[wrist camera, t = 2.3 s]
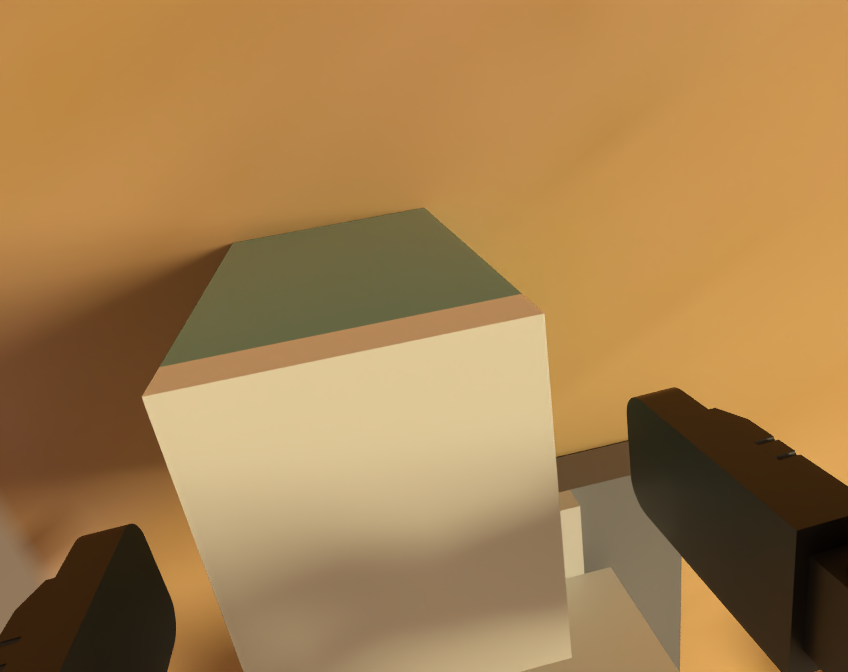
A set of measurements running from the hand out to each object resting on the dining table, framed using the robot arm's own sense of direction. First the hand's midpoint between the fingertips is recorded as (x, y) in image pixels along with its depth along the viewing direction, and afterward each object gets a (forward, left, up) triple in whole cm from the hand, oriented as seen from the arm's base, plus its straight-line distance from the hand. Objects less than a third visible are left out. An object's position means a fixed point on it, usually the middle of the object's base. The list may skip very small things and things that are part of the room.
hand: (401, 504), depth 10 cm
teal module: (-1, 0, -6) cm, 6 cm away
